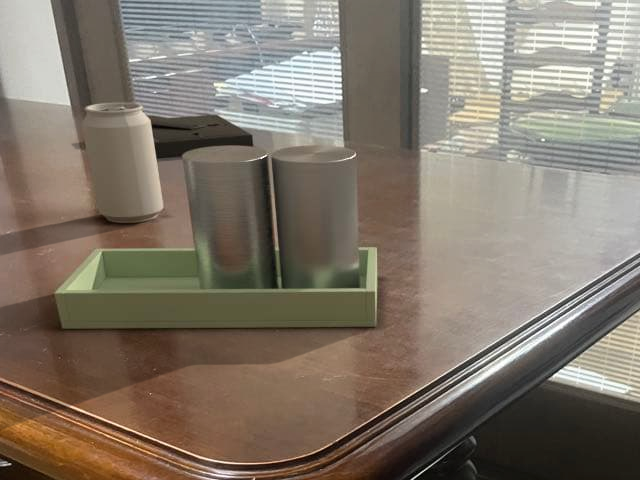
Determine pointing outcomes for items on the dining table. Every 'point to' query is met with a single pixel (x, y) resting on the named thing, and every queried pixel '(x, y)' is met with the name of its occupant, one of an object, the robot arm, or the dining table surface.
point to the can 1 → (122, 162)
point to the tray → (201, 296)
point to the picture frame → (195, 134)
